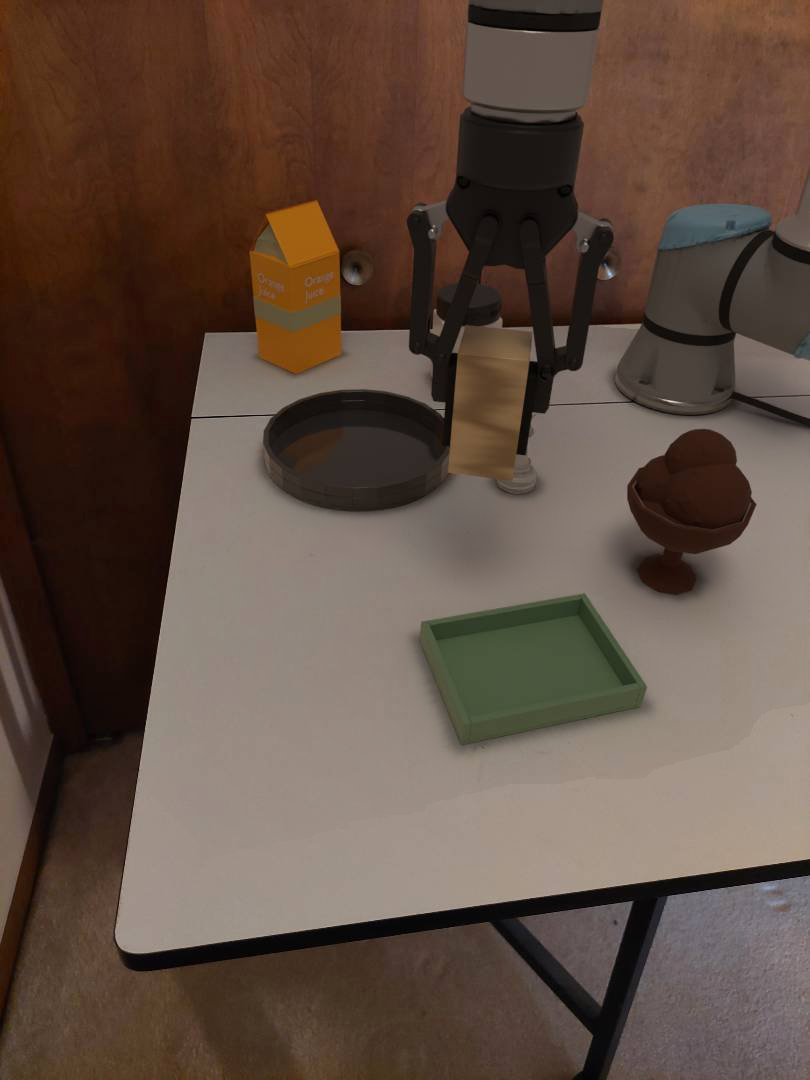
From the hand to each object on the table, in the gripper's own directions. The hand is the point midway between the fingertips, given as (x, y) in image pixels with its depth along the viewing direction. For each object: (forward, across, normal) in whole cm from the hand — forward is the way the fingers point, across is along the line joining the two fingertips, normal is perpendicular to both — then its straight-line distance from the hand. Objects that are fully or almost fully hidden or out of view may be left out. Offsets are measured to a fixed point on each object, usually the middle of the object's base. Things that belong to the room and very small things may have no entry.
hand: (485, 441), depth 63 cm
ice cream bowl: (+17, -18, -8) cm, 26 cm away
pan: (+17, +15, -22) cm, 32 cm away
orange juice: (+17, +28, -46) cm, 56 cm away
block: (+2, 0, 0) cm, 2 cm away
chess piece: (+17, -3, -20) cm, 27 cm away
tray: (+17, -6, +8) cm, 20 cm away
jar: (+17, +5, -43) cm, 47 cm away
